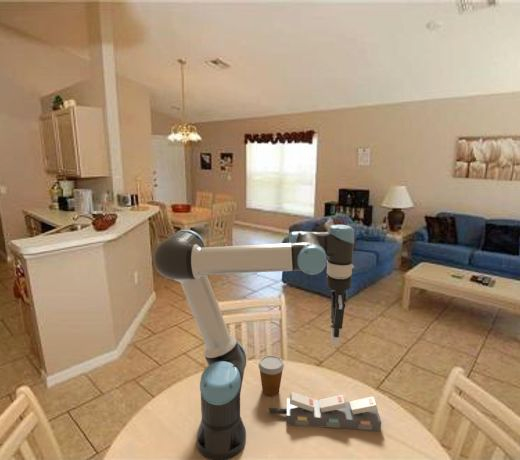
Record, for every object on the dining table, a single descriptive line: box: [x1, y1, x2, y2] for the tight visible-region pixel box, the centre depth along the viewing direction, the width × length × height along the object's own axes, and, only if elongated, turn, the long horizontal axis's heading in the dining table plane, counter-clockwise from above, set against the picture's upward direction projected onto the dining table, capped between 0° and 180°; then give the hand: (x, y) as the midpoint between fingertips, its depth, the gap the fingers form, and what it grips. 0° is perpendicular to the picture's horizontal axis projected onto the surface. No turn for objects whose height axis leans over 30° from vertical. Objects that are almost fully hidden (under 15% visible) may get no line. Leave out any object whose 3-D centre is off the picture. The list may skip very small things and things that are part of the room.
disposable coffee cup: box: [257, 355, 285, 397], centre depth 127 cm, size 10×10×12 cm
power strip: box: [268, 397, 382, 432], centre depth 114 cm, size 36×8×5 cm, turn 85°
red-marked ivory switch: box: [289, 391, 315, 412], centre depth 114 cm, size 8×4×2 cm, turn 86°
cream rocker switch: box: [349, 396, 378, 415], centre depth 113 cm, size 8×4×2 cm, turn 85°
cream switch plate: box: [318, 394, 346, 413], centre depth 113 cm, size 8×4×2 cm, turn 85°
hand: (335, 343), depth 111 cm, fingers closed
